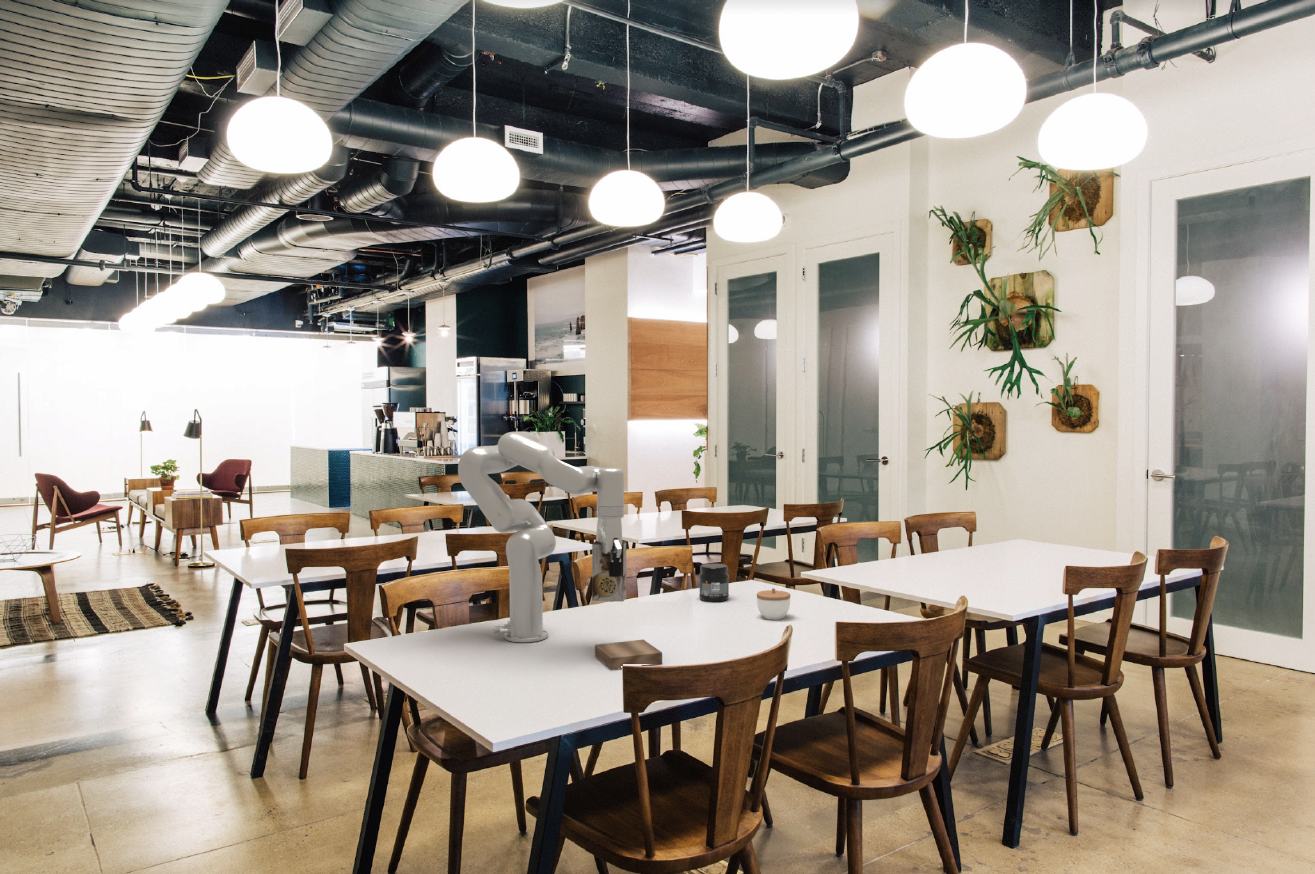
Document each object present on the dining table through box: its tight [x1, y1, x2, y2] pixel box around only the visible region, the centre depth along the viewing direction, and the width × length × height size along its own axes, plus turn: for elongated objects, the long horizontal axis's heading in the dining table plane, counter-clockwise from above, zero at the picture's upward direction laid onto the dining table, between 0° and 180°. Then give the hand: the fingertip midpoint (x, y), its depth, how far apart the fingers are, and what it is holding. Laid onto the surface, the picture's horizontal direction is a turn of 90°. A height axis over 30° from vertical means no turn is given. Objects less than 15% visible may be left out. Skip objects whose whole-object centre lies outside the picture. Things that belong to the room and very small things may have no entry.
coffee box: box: [591, 540, 627, 603], centre depth 236 cm, size 9×6×16 cm
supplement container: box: [698, 563, 730, 603], centre depth 298 cm, size 10×10×12 cm
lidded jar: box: [756, 587, 791, 621], centre depth 270 cm, size 11×11×9 cm
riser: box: [594, 639, 663, 671], centre depth 224 cm, size 14×14×3 cm
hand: (609, 573), depth 236 cm, fingers closed on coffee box, 8 cm apart
